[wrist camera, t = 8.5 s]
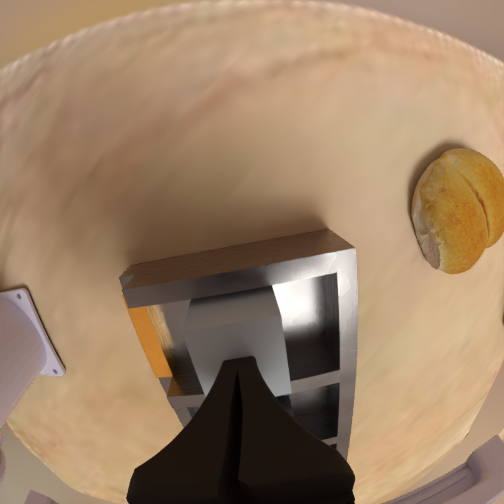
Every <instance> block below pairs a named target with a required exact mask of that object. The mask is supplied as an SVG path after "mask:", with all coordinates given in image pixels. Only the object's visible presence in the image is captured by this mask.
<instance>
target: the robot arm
mask: <svg viewBox="0 0 504 504" xmlns="http://www.w3.org/2000/svg"><path fill="white" fill-rule="evenodd" d="M20 295H21V296H20ZM65 373H66V371H65V369H64V367H63V365H62V363H61V361H60V360H59V358H58V356H57V354H56V352H55V350H54V348H53V346H52V344H51V342H50V340H49V338H48V336H47V334H46V332H45V330H44V328H43V326H42V323H41V321H40V319H39V317H38V314H37V312H36V310H35V307H34V305H33V302H32V300H31V297H30V295H29V292H28V291H27V290H26V289H25V288H20V289H15V290H10V291H5V292H0V429H1V427H2V426H3V425H4V423H5V422H6V420H7V418H8V417H9V415H10V414H11V413H12V411H13V410H14V408H15V407H16V405H17V404H18V402H19V401H20V400H21V398H22V397H23V395H24V394H25V392H26V391H27V390H28V388H29V387H30V386H31V384H32V383H33V382H34V380H35V379H36V378H37V376H38V375H52V376H64V374H65ZM4 440H5V438H4V437H3V435H2V434H1V432H0V486H1V484H2V482H3V479H4V474H5V466H6V465H5V464H6V461H5V455H4V452H3V450H2V448H1V445H2V444H3V442H4ZM354 482H355V475H354V473H353V471H352V469H351V467H350V466H349V464H348V463H347V461H346V460H345V459H344V457H343V456H342V455H341V454H340V453H339V451H338V450H336V449H334V448H333V447H331V446H329V445H328V444H326V443H324V442H323V441H321V440H320V439H319V438H317V437H316V436H314V435H313V434H312V433H310V432H309V431H308V430H307V429H306V428H304V427H303V426H302V425H301V424H300V423H299V422H297V421H296V420H295V419H294V418H293V417H292V416H291V415H290V414H289V413H288V412H287V410H286V409H285V408H284V407H283V406H282V405H281V404H280V402H279V401H278V400H277V398H276V397H275V396H274V394H273V393H272V392H271V390H270V389H269V387H268V385H267V384H266V382H265V381H264V379H263V377H262V375H261V373H260V371H259V369H258V366H257V362H256V358H255V357H253V356H250V357H244V358H237V359H231V360H224V361H223V362H222V365H221V367H220V370H219V372H218V375H217V377H216V379H215V381H214V383H213V385H212V387H211V389H210V391H209V393H208V394H207V396H206V398H205V399H204V401H203V403H202V404H201V406H200V408H199V409H198V411H197V412H196V413H195V415H194V416H193V418H192V419H191V420H190V421H189V423H188V424H187V425H186V426H185V427H184V429H183V430H182V431H181V432H180V433H179V434H178V435H177V436H176V437H175V438H174V439H173V440H172V441H171V442H170V443H169V444H168V445H167V446H166V447H165V448H163V449H162V450H161V451H160V452H159V453H157V454H156V455H155V456H154V457H152V458H151V459H149V460H148V461H146V462H145V463H143V464H142V465H140V466H139V467H137V468H135V470H134V473H133V475H132V477H131V481H130V484H129V489H128V493H127V497H126V499H127V502H128V503H129V504H355V503H354V501H355V497H354V494H353V491H352V489H353V486H354ZM503 493H504V443H503V441H502V440H501V439H500V437H499V436H498V435H495V436H494V437H492V438H491V439H490V440H488V441H487V442H486V443H484V444H483V445H481V446H480V447H478V448H477V449H476V450H475V451H474V452H473V453H472V454H471V455H470V456H469V457H468V459H467V461H466V462H465V463H463V464H462V465H460V466H458V467H457V468H455V469H453V470H452V471H450V472H448V473H447V474H445V475H443V476H441V477H439V478H437V479H435V480H434V481H432V482H430V483H428V484H426V485H424V486H422V487H420V488H417V489H415V490H413V491H411V492H409V493H407V494H405V495H402V496H400V497H397V498H395V499H392V500H390V501H387V502H385V503H382V504H491V503H492V502H494V501H495V500H496V499H497V498H498V497H500V496H501V495H502V494H503ZM25 504H58V503H57V502H55V501H54V500H52V499H51V498H49V497H47V496H45V495H43V494H40V493H38V492H35V491H33V490H30V492H29V495H28V496H27V499H26V501H25Z"/></svg>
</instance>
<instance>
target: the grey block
mask: <svg viewBox="0 0 504 504" xmlns="http://www.w3.org/2000/svg"><path fill="white" fill-rule="evenodd" d="M182 334H183V337H184V340H185V343H186V346H187V348H188V351H189V354H190V357H191V360H192V362H193V365H194V368H195V371H196V373H197V376H198V379H199V381H200V384H201V386H202V389H203V391H204V394H205V396H207V394H208V393H209V391H210V389H211V387H212V385H213V383H214V381H215V379H216V377H217V375H218V372H219V370H220V367H221V365H222V362H223V361H224V360H231V359H237V358H244V357H250V356H253V357H255V358H256V362H257V366H258V369H259V371H260V373H261V375H262V377H263V379H264V381H265V382H266V384H267V385H268V387H269V389H270V390H271V392H272V393H273V394H274V396H275V397H276V396H281V395H286V394H291V393H292V391H291V383H290V376H289V368H288V361H287V353H286V346H285V339H284V332H283V325H282V318H281V313H280V310H279V306H278V303H277V300H276V297H275V293H274V290H273V287H272V285H271V286H266V287H260V288H255V289H249V290H244V291H238V292H232V293H227V294H221V295H215V296H209V297H203V298H197V299H191V301H190V304H189V307H188V311H187V314H186V317H185V321H184V324H183V327H182Z"/></svg>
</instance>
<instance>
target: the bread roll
mask: <svg viewBox="0 0 504 504" xmlns="http://www.w3.org/2000/svg"><path fill="white" fill-rule="evenodd" d="M411 216H412V220H413V224H414V227H415V232H416V236H417V239H418V241H419V244H420V247H421V249H422V251H423V254H424V255H425V257H426V259H427V261H428V262H429V263H430V264H431V266H432V267H433V268H435V269H440V270H442V271H444V272H445V273H448V274H459V273H462V272H465V271H467V270H469V269H471V268H472V267H473V266H474V265H475V263H476V262H477V261H478V260H479V258H480V257H481V255H482V254H483V252H484V249H485V248H489V247H491V246H492V245H494V244H495V243H496V242H497V241H498V240H499V238H500V237H501V236H502V234H503V232H504V178H503V176H502V174H501V172H500V170H499V169H498V168H497V166H496V165H495V164H494V163H493V162H492V161H491V160H490V159H488V158H487V157H486V156H484V155H482V154H481V153H479V152H477V151H474V150H471V149H466V148H455V149H450V150H447V151H445V152H444V153H443V154H442V155H441V156H440V158H439V159H437V160H435V161H434V162H432V163H431V164H430V165H429V166H428V167H427V168H426V170H425V171H424V172H423V174H422V176H421V177H420V179H419V181H418V183H417V186H416V188H415V191H414V195H413V199H412V212H411Z"/></svg>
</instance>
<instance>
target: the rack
mask: <svg viewBox="0 0 504 504" xmlns="http://www.w3.org/2000/svg"><path fill="white" fill-rule="evenodd" d="M119 279H120V283H121V286H122V292H123V295H122V296H123V299H124V301H125V304H126V307H127V310H128V312H129V315H130V318H131V320H132V323H133V325H134V328H135V330H136V333H137V335H138V338H139V340H140V343H141V345H142V347H143V350H144V352H145V354H146V357H147V359H148V361H149V363H150V366H151V368H152V370H153V372H154V374H155V376H156V378H159V380H160V382H161V384H162V386H163V388H164V391H165V393H166V395H167V399H168V401H169V403H170V404H171V406H172V408H174V410H175V412H176V414H177V416H178V418H179V419H180V421H181V423H182V425H183V427H185V426H186V425H187V424H188V423H189V421H190V420H191V419H192V418H193V416H194V415H195V413H196V412H197V411H198V409H199V408H200V406H201V404H202V403H203V401H204V399H205V398H206V396H205V394H204V391H203V389H202V386H201V384H200V381H199V379H198V376H197V373H196V371H195V368H194V365H193V362H192V360H191V357H190V354H189V351H188V348H187V346H186V343H185V340H184V337H183V334H182V327H183V324H184V321H185V317H186V314H187V311H188V307H189V304H190V301H191V299H197V298H203V297H209V296H215V295H221V294H227V293H232V292H238V291H244V290H249V289H255V288H260V287H266V286H271V285H272V287H273V290H274V293H275V297H276V300H277V303H278V306H279V310H280V313H281V318H282V325H283V332H284V339H285V346H286V353H287V361H288V368H289V376H290V383H291V391H292V393H291V394H286V395H281V396H276V398H277V400H278V401H279V402H280V404H281V405H282V406H283V407H284V408H285V409H286V410H287V412H288V413H289V414H290V415H291V416H292V417H293V418H294V419H295V420H296V421H297V422H299V423H300V424H301V425H302V426H303V427H304V428H306V429H307V430H308V431H309V432H310V433H312V434H313V435H314V436H316V437H317V438H319V439H320V440H321V441H323V442H324V443H326V444H328V445H329V446H331V447H333V448H334V449H336V450H338V451H339V453H340V454H341V455H342V456H343V457H344V459H345V460H346V461H347V455H348V448H349V441H350V433H351V425H352V416H353V406H354V394H355V380H356V363H357V332H358V295H357V263H356V248H355V247H354V246H352V245H351V244H350V243H348V242H347V241H345V240H344V239H343V238H341V237H340V236H338V235H337V234H335V233H334V232H333V231H331V230H330V229H326V230H321V231H315V232H309V233H304V234H298V235H293V236H287V237H281V238H276V239H270V240H265V241H259V242H254V243H248V244H243V245H237V246H232V247H226V248H221V249H216V250H210V251H205V252H199V253H194V254H189V255H183V256H178V257H173V258H167V259H162V260H157V261H152V262H146V263H141V264H136V265H131V266H130V267H129V268H128V269H127V270H126V271H125V272H124V273H123V274H122V275H121V276H120V277H119Z"/></svg>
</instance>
